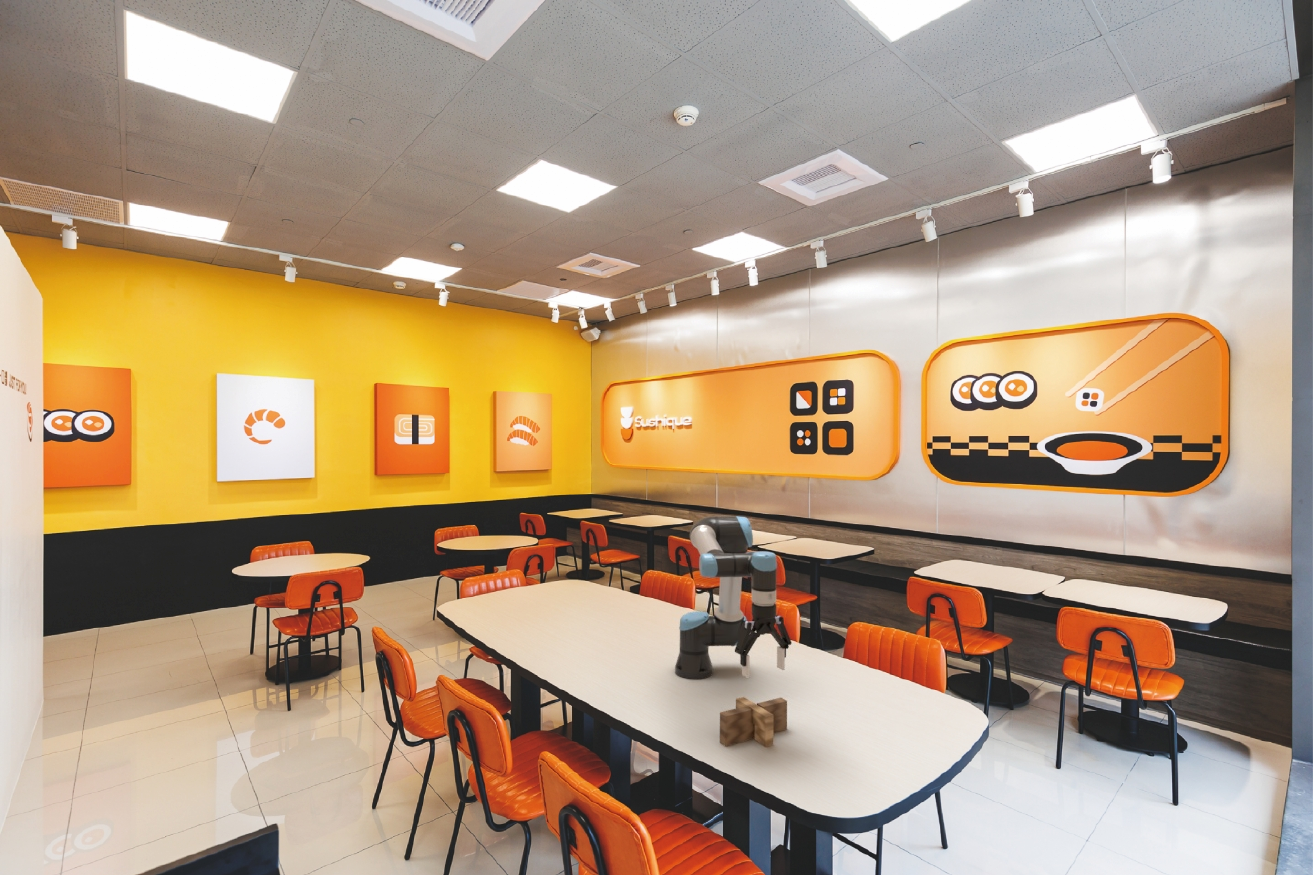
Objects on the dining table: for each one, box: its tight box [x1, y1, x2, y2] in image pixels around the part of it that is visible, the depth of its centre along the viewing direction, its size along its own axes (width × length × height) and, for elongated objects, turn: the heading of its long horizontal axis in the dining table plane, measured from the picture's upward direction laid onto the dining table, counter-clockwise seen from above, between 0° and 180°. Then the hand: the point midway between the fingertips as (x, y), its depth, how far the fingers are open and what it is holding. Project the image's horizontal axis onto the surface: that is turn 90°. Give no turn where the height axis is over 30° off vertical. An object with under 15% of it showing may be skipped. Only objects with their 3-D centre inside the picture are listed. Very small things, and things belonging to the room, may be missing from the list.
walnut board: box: [719, 697, 788, 747], centre depth 189 cm, size 24×3×9 cm, turn 119°
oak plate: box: [735, 696, 774, 748], centre depth 189 cm, size 15×3×9 cm, turn 29°
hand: (763, 672), depth 186 cm, fingers open, 13 cm apart
